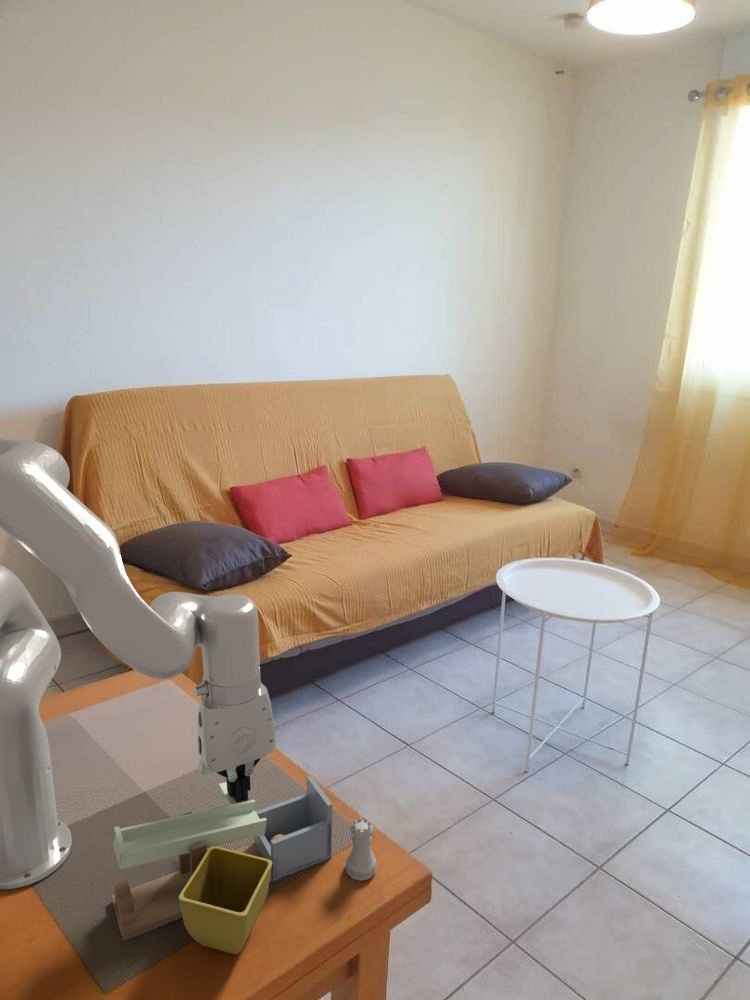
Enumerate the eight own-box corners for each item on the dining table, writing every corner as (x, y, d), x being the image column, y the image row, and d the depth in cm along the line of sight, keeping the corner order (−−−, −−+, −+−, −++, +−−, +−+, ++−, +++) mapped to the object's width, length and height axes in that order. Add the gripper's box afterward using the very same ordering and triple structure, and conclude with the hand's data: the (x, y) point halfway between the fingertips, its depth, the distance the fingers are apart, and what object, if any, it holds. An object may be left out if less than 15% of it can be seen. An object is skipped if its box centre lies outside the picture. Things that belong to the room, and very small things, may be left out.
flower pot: (244, 975, 86) (244, 916, 83) (178, 955, 88) (176, 897, 85) (272, 915, 94) (273, 859, 91) (211, 898, 96) (210, 844, 93)
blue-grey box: (254, 847, 105) (253, 794, 102) (310, 826, 109) (311, 775, 107) (273, 881, 99) (272, 825, 96) (331, 857, 104) (332, 804, 101)
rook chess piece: (357, 853, 105) (359, 807, 102) (383, 868, 102) (385, 821, 100) (338, 872, 101) (339, 825, 99) (364, 888, 99) (365, 840, 96)
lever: (102, 812, 97) (104, 795, 96) (236, 784, 107) (238, 769, 106) (120, 869, 88) (121, 851, 87) (264, 833, 98) (267, 817, 97)
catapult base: (112, 901, 95) (106, 840, 92) (254, 848, 105) (253, 790, 102) (123, 941, 89) (117, 877, 87) (272, 880, 99) (272, 821, 96)
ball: (267, 832, 103) (286, 827, 104) (265, 850, 103) (284, 845, 105) (275, 846, 100) (294, 841, 102) (273, 864, 101) (292, 858, 103)
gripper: (186, 713, 91) (195, 832, 96) (294, 682, 98) (297, 794, 104) (170, 685, 97) (180, 798, 103) (273, 658, 104) (277, 765, 110)
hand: (239, 796), depth 103 cm, fingers closed
